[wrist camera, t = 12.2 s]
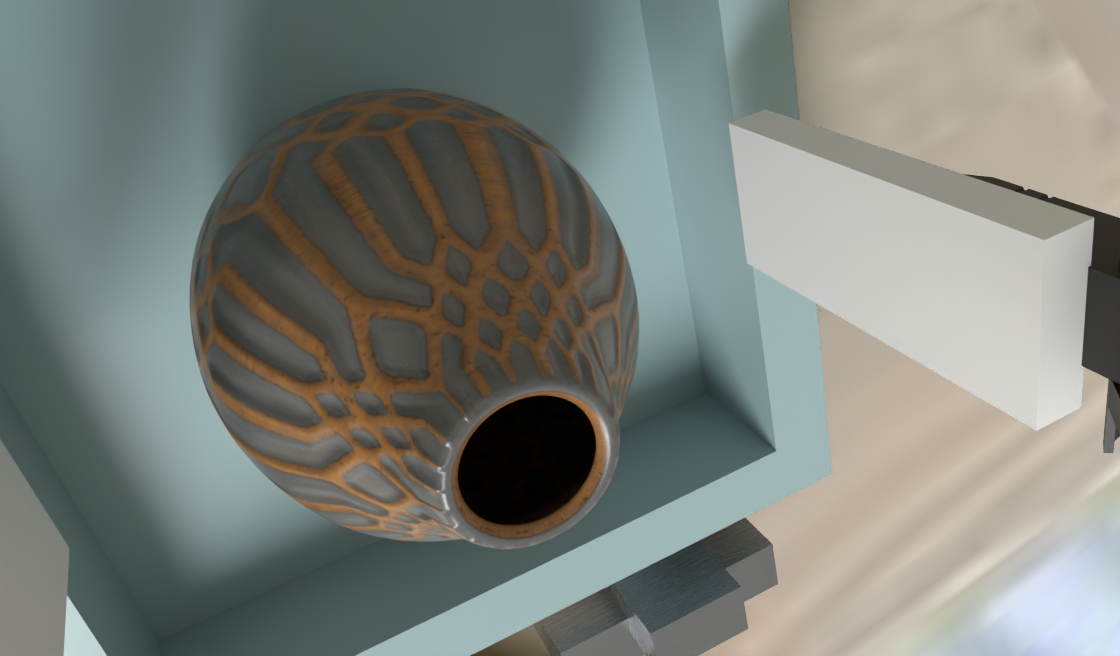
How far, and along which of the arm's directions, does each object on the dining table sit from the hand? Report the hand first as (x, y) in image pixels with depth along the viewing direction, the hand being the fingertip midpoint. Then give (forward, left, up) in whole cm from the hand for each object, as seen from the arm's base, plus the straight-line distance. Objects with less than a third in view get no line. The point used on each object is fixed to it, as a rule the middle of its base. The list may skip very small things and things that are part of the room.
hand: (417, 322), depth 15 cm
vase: (0, 0, -4) cm, 4 cm away
